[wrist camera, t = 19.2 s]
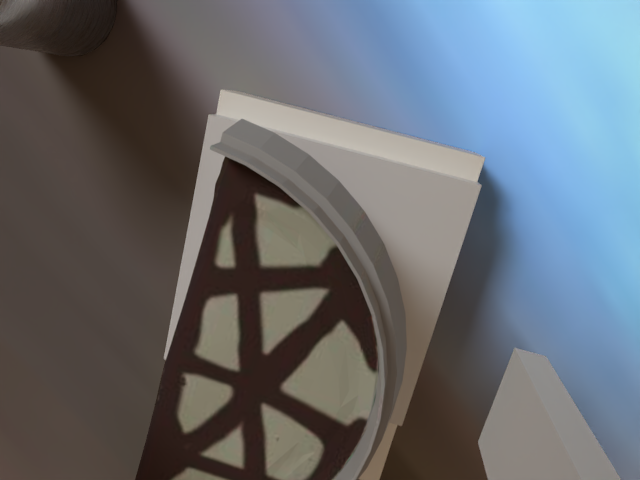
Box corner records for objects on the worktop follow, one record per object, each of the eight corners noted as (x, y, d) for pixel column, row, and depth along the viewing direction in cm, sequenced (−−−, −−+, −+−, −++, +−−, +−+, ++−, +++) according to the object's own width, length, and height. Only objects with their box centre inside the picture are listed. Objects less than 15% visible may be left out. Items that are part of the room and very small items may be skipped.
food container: (341, 427, 24) (313, 646, 14) (211, 380, 24) (97, 566, 14) (444, 165, 21) (499, 218, 11) (293, 112, 21) (216, 120, 11)
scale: (236, 91, 24) (213, 88, 21) (474, 152, 24) (490, 160, 20) (177, 394, 28) (149, 433, 25) (378, 451, 28) (377, 499, 25)
